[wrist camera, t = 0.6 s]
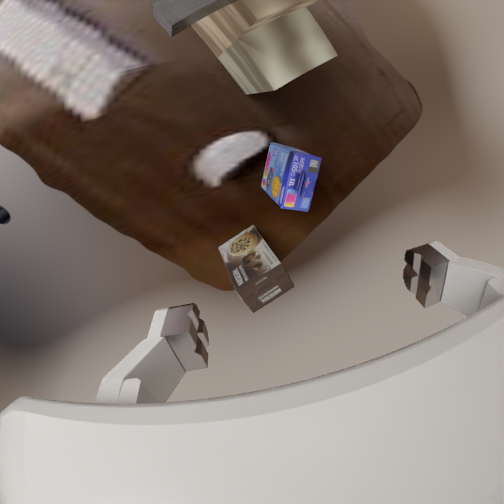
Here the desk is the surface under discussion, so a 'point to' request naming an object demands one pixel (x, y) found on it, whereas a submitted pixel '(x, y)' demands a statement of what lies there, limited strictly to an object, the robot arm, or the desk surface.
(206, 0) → the bar
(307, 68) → the stepped stand
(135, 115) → the desk surface
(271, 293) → the coffee box
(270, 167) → the ink cartridge box
